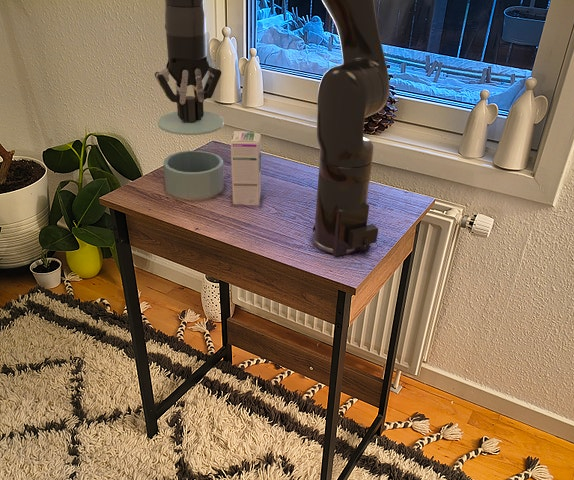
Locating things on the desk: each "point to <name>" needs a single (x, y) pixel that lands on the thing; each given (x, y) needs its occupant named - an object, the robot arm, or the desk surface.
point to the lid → (191, 121)
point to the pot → (193, 174)
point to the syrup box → (246, 167)
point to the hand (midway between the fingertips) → (191, 119)
